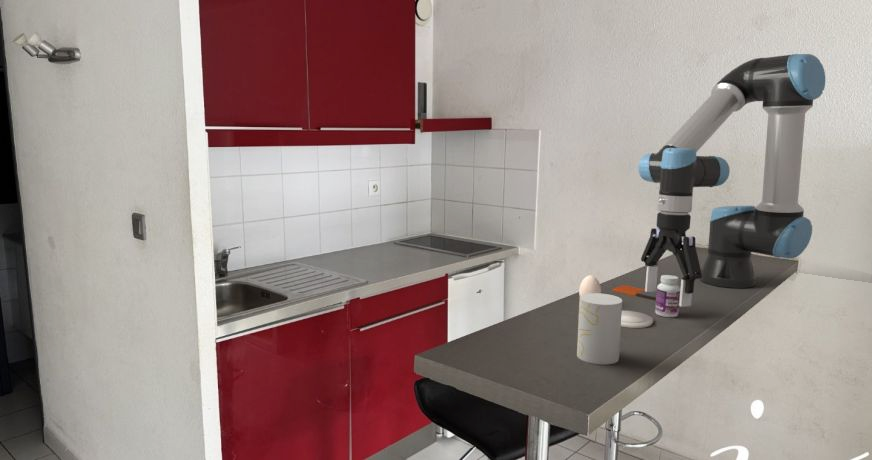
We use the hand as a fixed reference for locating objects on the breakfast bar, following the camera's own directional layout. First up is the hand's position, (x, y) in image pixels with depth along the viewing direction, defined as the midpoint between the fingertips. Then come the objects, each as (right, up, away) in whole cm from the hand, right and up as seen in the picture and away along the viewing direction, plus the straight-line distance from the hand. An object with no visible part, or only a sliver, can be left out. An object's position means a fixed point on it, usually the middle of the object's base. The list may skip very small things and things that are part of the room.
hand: (666, 298), depth 147 cm
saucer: (-11, -5, -4) cm, 13 cm away
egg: (-17, -3, +8) cm, 19 cm away
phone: (0, -2, +19) cm, 19 cm away
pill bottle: (0, -4, +1) cm, 4 cm away
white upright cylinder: (-24, -9, -27) cm, 37 cm away
